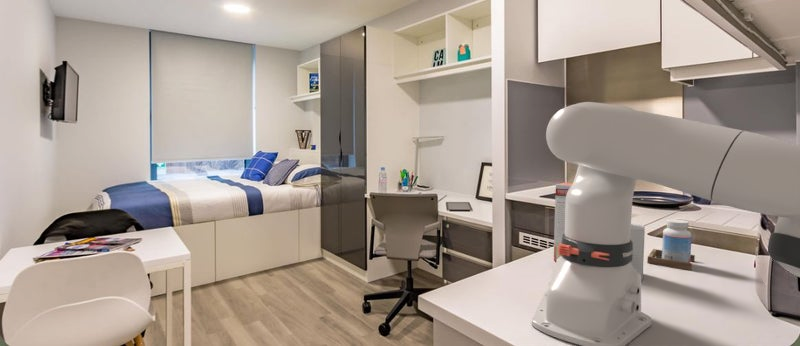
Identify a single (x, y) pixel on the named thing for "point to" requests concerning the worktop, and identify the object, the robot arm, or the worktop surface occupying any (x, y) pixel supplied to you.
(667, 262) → the stop
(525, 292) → the worktop surface
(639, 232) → the skincare box
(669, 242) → the pill bottle
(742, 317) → the worktop surface
